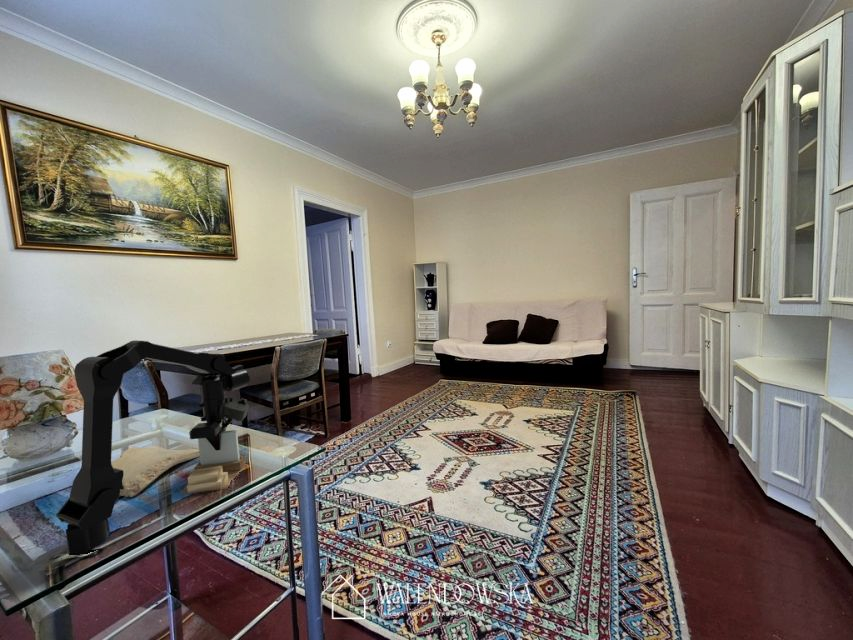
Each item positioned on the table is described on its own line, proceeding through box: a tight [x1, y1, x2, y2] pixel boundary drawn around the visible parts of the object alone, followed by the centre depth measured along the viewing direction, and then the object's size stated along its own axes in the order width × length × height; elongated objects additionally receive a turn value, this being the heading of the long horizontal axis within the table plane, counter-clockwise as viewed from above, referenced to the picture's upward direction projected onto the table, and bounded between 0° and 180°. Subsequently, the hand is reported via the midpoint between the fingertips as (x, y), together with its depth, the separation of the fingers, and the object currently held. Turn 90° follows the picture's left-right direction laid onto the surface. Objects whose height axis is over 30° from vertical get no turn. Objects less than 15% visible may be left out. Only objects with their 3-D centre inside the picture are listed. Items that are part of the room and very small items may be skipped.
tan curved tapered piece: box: [111, 445, 200, 498], centre depth 102 cm, size 24×8×20 cm
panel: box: [197, 429, 241, 465], centre depth 102 cm, size 1×10×10 cm, turn 100°
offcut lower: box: [186, 472, 228, 494], centre depth 94 cm, size 5×8×2 cm, turn 100°
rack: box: [179, 455, 247, 495], centre depth 98 cm, size 14×12×4 cm
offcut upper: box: [187, 466, 223, 486], centre depth 94 cm, size 4×7×2 cm, turn 105°
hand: (219, 448), depth 102 cm, fingers closed on panel, 1 cm apart
